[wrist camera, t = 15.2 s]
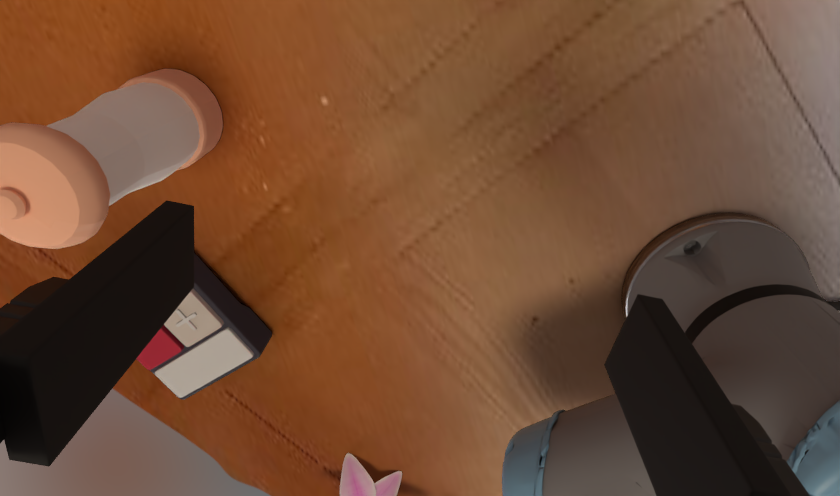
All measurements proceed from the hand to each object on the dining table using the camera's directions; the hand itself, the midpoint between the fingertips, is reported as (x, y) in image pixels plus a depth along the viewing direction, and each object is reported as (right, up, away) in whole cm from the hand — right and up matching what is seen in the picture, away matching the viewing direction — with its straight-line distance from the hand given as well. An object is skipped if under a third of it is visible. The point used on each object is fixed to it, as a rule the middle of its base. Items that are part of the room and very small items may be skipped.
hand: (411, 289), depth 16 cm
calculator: (-23, -4, +36) cm, 43 cm away
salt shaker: (-19, +12, +27) cm, 36 cm away
